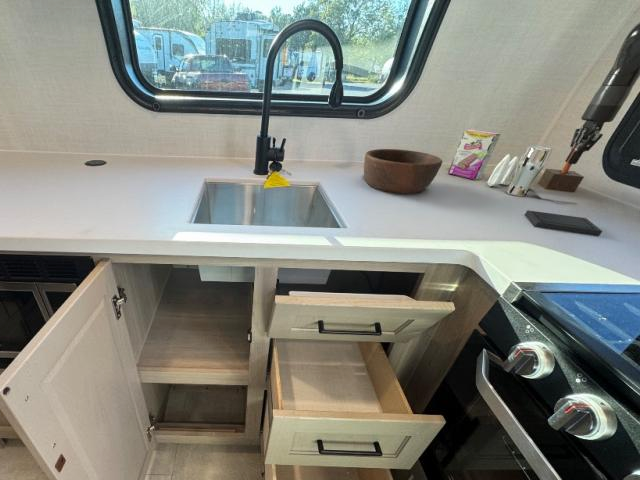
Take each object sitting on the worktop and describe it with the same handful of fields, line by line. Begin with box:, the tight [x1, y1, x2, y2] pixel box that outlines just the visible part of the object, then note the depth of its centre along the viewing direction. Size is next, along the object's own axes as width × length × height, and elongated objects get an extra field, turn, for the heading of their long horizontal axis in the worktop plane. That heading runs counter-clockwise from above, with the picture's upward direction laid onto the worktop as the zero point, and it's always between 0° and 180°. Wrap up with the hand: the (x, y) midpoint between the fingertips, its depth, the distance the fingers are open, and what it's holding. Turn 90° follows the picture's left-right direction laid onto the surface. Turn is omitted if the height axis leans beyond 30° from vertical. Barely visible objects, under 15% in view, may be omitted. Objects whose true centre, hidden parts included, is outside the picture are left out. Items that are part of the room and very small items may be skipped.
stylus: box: [561, 147, 576, 173], centre depth 108 cm, size 2×2×14 cm
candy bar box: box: [447, 129, 502, 181], centre depth 124 cm, size 11×5×16 cm, turn 34°
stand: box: [537, 168, 585, 193], centre depth 111 cm, size 8×8×7 cm
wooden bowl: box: [363, 148, 443, 194], centre depth 113 cm, size 25×25×10 cm
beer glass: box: [505, 145, 554, 197], centre depth 107 cm, size 7×7×15 cm
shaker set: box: [487, 153, 519, 187], centre depth 116 cm, size 12×4×11 cm, turn 119°
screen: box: [534, 211, 594, 229], centre depth 88 cm, size 11×8×1 cm
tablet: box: [524, 209, 603, 237], centre depth 88 cm, size 14×10×2 cm
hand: (570, 162), depth 107 cm, fingers closed on stylus
